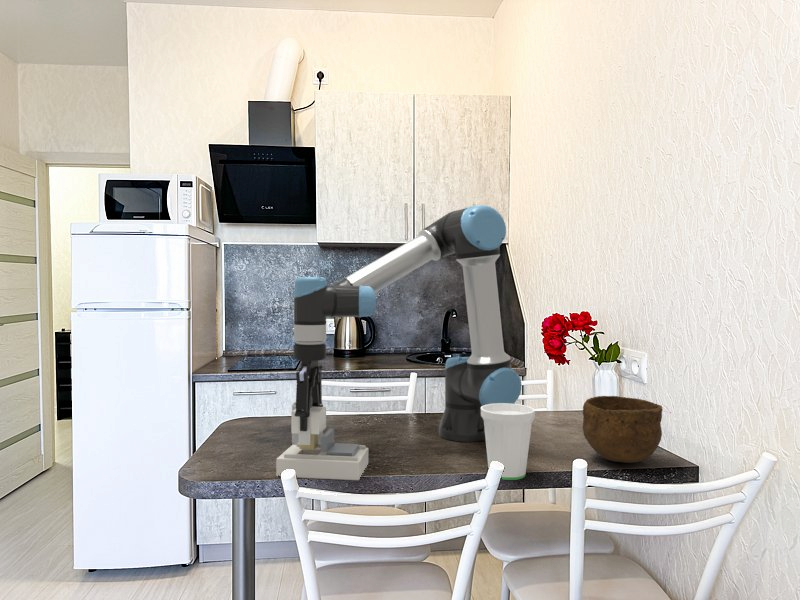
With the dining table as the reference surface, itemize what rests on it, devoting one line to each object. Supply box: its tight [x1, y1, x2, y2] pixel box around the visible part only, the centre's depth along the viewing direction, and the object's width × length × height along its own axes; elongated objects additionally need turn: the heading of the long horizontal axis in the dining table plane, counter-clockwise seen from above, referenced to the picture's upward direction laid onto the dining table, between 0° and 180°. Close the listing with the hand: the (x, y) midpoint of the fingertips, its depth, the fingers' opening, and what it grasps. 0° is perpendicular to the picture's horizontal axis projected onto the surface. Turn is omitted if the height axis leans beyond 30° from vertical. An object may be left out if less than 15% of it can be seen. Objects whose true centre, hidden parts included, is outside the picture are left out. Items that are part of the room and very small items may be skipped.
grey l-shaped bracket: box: [321, 428, 360, 456], centre depth 136 cm, size 7×8×5 cm
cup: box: [481, 403, 536, 481], centre depth 134 cm, size 12×12×15 cm
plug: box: [290, 396, 327, 450], centre depth 137 cm, size 6×6×12 cm
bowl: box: [582, 395, 664, 464], centre depth 144 cm, size 19×19×15 cm
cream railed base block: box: [275, 443, 369, 481], centre depth 136 cm, size 19×12×5 cm, turn 83°
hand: (309, 440), depth 137 cm, fingers closed on plug, 6 cm apart
